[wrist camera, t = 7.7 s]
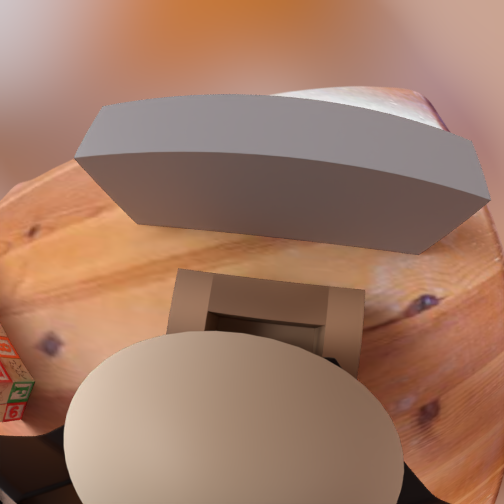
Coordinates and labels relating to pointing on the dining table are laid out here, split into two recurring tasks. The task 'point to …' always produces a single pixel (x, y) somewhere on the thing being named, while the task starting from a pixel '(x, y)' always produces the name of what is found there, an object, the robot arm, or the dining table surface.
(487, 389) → the dining table surface
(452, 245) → the dining table surface
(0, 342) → the stack of blocks
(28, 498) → the robot arm
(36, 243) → the dining table surface
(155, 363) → the dowel
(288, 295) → the socket block
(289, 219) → the board
